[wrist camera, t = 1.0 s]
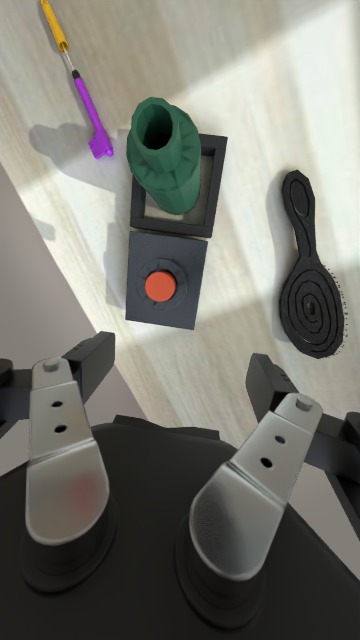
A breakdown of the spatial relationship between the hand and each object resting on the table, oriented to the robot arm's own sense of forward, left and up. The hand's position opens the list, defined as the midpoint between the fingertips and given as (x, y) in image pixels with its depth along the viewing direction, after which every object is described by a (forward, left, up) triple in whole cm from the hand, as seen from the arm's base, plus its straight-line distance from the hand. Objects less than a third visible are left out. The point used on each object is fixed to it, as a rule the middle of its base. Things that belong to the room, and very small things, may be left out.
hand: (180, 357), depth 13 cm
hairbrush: (-5, +15, -22) cm, 27 cm away
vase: (-13, -4, -21) cm, 25 cm away
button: (-1, -4, -16) cm, 17 cm away
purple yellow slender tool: (-16, -13, -20) cm, 29 cm away
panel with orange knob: (-1, -4, -21) cm, 22 cm away
